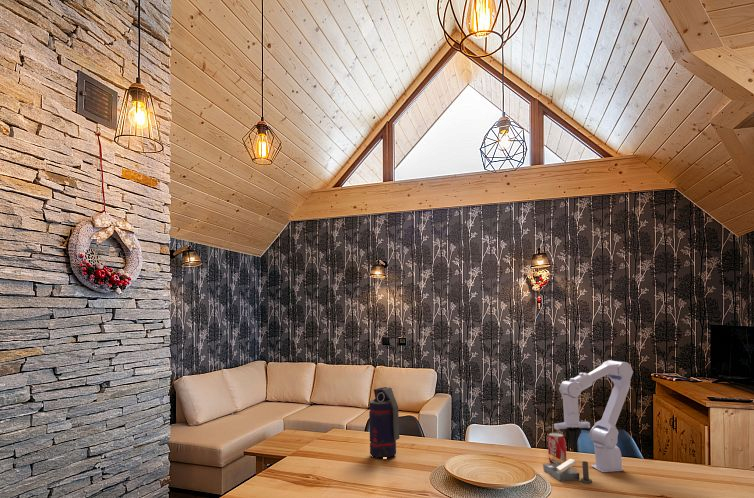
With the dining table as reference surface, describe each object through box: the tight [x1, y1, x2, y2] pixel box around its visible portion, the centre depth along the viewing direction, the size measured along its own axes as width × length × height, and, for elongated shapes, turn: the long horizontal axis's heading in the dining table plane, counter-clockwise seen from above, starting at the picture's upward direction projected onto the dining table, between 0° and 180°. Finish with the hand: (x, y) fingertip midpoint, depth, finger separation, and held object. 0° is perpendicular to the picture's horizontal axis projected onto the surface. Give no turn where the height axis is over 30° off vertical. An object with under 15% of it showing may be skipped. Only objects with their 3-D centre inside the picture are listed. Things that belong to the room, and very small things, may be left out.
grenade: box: [368, 386, 400, 458], centre depth 221 cm, size 14×12×30 cm
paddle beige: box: [556, 458, 577, 472], centre depth 188 cm, size 7×3×2 cm, turn 101°
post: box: [579, 461, 593, 484], centre depth 185 cm, size 4×4×7 cm
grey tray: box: [542, 462, 581, 482], centre depth 192 cm, size 8×13×4 cm, turn 8°
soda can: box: [547, 432, 567, 463], centre depth 206 cm, size 7×7×12 cm
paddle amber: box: [547, 454, 564, 464], centre depth 194 cm, size 7×3×2 cm, turn 96°
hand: (573, 447), depth 195 cm, fingers closed
